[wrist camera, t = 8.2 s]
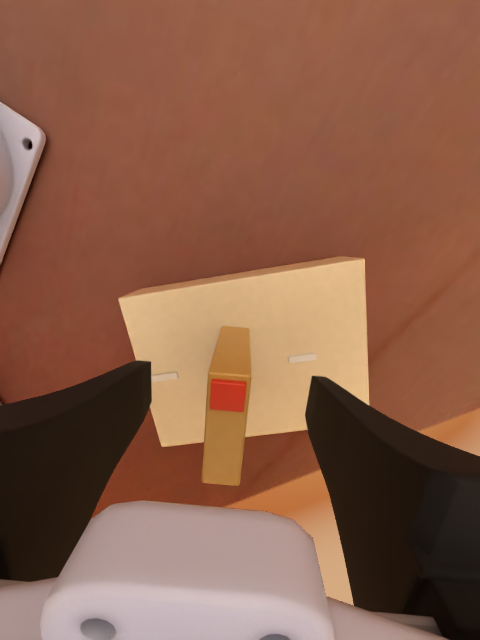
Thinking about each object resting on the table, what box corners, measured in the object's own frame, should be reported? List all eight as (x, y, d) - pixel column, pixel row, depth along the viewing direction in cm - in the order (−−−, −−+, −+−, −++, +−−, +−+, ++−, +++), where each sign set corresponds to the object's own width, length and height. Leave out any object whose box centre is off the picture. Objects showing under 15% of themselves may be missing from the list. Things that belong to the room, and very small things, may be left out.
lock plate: (174, 415, 18) (160, 450, 15) (140, 288, 16) (115, 298, 13) (349, 393, 17) (371, 424, 14) (342, 255, 15) (366, 258, 12)
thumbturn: (241, 405, 14) (239, 493, 9) (216, 403, 14) (199, 489, 9) (249, 327, 13) (252, 379, 8) (221, 325, 13) (206, 375, 8)
